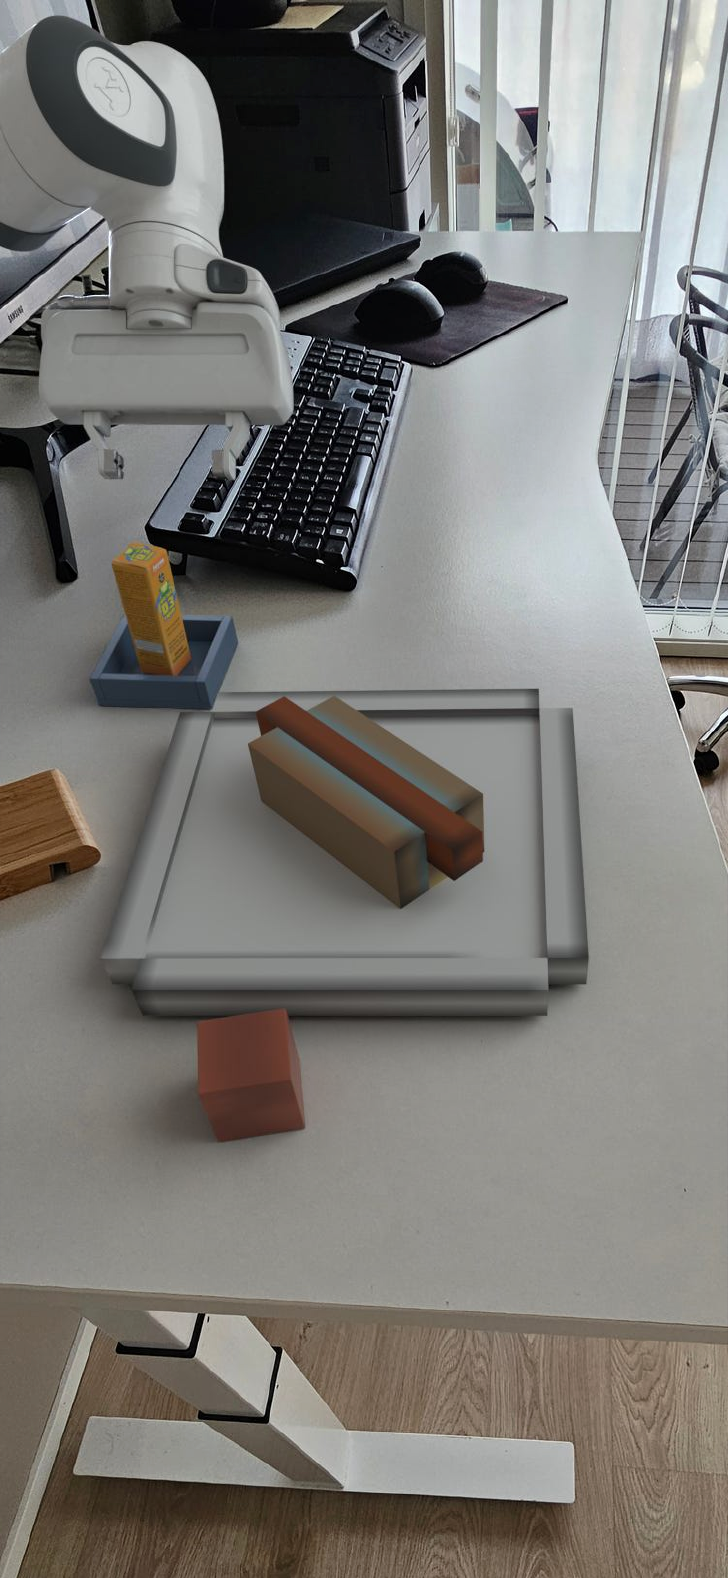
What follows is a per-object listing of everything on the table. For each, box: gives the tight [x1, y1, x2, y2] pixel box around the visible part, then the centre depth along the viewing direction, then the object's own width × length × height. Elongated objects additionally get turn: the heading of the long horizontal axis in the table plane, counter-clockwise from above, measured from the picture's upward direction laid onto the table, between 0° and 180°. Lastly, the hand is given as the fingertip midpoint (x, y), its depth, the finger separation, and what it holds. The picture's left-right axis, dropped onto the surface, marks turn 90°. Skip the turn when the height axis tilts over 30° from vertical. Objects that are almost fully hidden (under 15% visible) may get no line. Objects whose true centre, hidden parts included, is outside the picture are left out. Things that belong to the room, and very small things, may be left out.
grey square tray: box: [99, 688, 590, 1017], centre depth 70 cm, size 30×30×8 cm
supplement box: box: [111, 541, 191, 676], centre depth 84 cm, size 3×3×10 cm
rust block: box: [196, 1009, 306, 1143], centre depth 59 cm, size 5×5×5 cm
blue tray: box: [88, 613, 239, 710], centre depth 87 cm, size 10×10×3 cm
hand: (167, 477), depth 85 cm, fingers open, 8 cm apart
